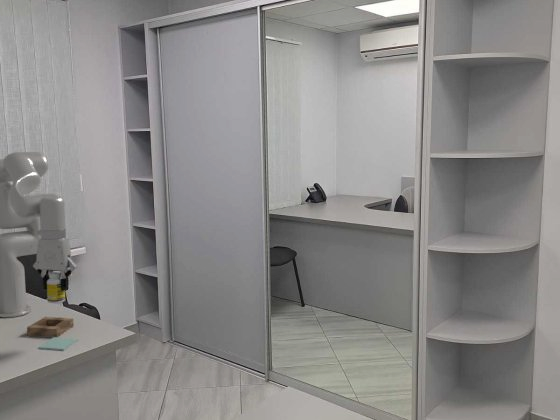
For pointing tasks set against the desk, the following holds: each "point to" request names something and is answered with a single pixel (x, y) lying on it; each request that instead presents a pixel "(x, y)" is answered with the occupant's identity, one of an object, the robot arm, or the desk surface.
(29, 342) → the desk surface
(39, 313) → the desk surface
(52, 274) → the supplement bottle
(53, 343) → the coaster plate
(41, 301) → the desk surface
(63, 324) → the can holder
